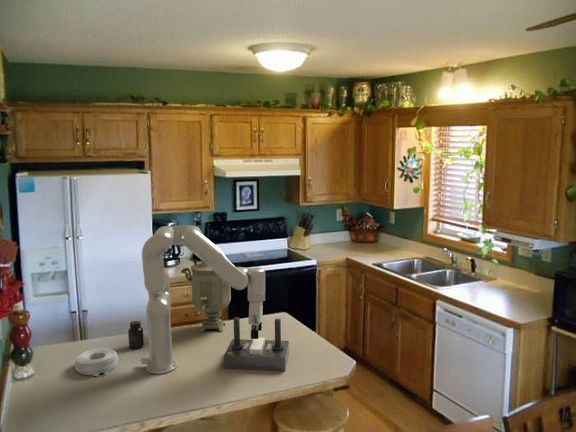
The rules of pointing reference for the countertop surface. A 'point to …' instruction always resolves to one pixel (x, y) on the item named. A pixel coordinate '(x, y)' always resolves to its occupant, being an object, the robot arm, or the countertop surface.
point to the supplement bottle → (135, 335)
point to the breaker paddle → (257, 346)
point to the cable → (96, 361)
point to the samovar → (208, 293)
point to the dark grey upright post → (237, 335)
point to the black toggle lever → (277, 336)
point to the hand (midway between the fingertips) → (256, 334)
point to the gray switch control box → (256, 357)
